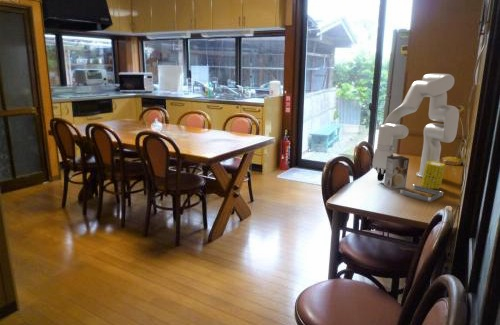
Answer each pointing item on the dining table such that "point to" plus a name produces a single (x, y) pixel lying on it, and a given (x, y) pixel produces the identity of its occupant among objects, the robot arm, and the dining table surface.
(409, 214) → the dining table surface
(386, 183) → the coffee box
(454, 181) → the dining table surface
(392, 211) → the dining table surface
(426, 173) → the food
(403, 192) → the grey rod frame
